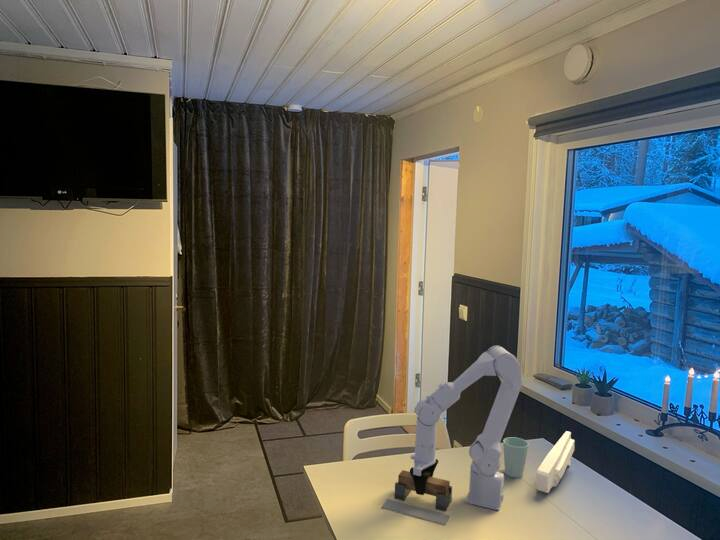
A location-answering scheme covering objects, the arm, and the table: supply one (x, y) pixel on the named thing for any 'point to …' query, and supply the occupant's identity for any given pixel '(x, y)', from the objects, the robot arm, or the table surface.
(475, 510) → the table surface
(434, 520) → the mat
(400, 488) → the post
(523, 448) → the cup
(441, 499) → the post
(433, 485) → the rail
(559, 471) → the shelf bracket
